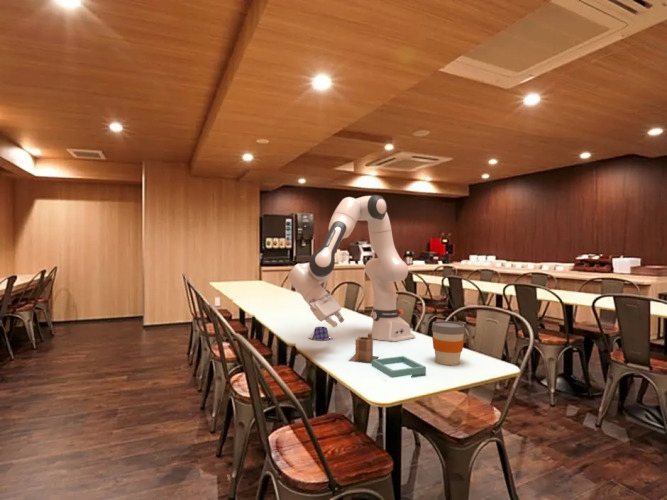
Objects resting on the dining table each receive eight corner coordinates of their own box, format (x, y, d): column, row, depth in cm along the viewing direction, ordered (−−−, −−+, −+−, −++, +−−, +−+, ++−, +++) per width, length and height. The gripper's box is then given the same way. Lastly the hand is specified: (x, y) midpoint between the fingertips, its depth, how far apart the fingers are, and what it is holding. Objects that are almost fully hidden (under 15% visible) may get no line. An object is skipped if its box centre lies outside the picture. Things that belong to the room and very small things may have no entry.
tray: (403, 363, 150) (403, 356, 150) (425, 375, 137) (425, 366, 137) (371, 367, 145) (371, 359, 145) (391, 380, 132) (392, 371, 132)
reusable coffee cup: (424, 358, 157) (425, 322, 157) (449, 355, 162) (450, 320, 162) (445, 368, 146) (446, 328, 145) (471, 364, 151) (472, 326, 150)
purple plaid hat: (325, 334, 197) (325, 324, 197) (337, 339, 187) (337, 328, 187) (304, 336, 192) (304, 326, 191) (315, 342, 181) (315, 331, 181)
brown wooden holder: (358, 356, 156) (359, 331, 156) (372, 357, 154) (373, 332, 154) (355, 360, 151) (355, 334, 150) (369, 361, 149) (369, 335, 149)
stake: (355, 356, 159) (355, 341, 159) (379, 359, 156) (379, 344, 156) (348, 363, 149) (348, 348, 149) (373, 366, 146) (374, 350, 146)
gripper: (312, 295, 148) (336, 323, 145) (330, 290, 167) (351, 314, 164) (301, 306, 149) (325, 334, 146) (320, 299, 169) (341, 323, 166)
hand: (339, 323), depth 155 cm, fingers open, 8 cm apart
